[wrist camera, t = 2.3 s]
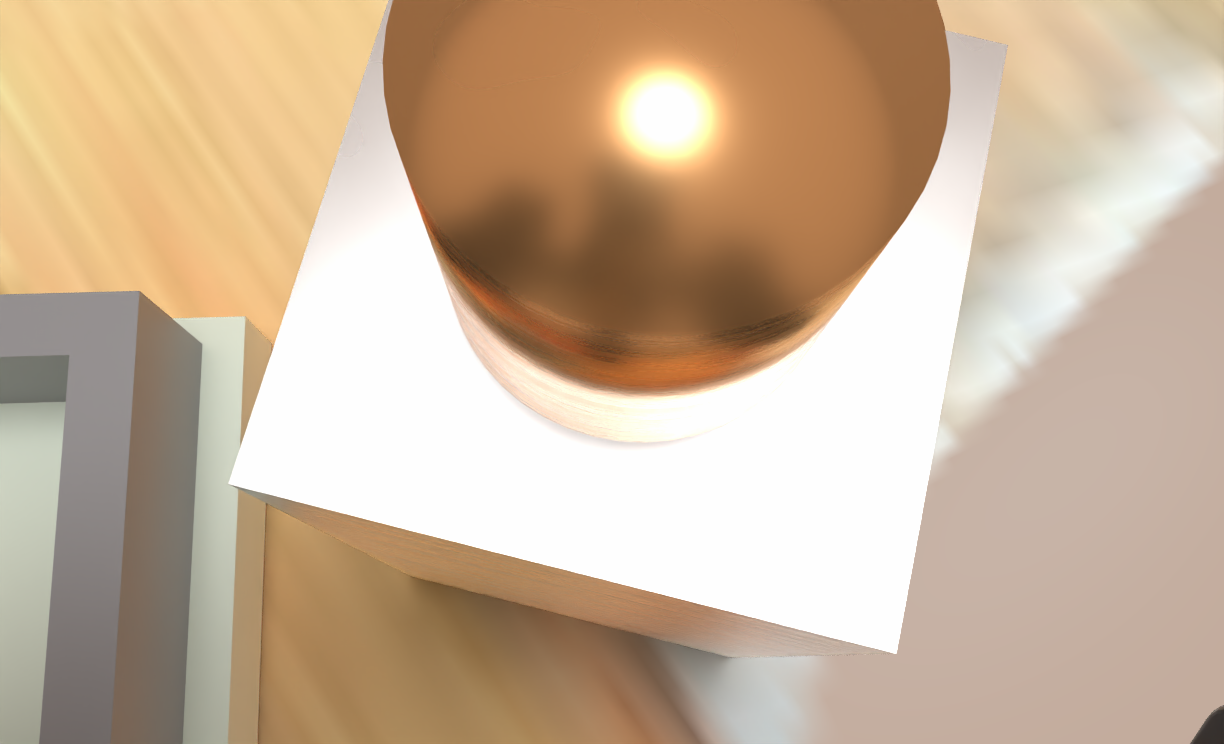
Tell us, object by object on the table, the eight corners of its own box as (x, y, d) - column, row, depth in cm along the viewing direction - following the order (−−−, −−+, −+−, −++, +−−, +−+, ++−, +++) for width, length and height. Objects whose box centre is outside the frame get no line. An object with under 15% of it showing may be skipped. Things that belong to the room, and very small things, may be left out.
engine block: (730, 657, 18) (1062, 648, 6) (410, 576, 18) (47, 392, 6) (798, 347, 19) (1192, -223, 7) (497, 273, 19) (352, -415, 7)
